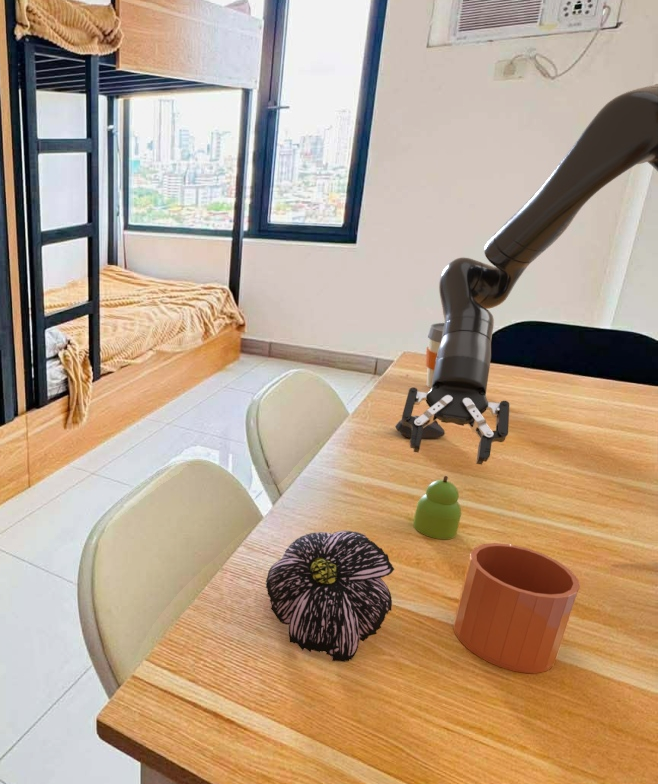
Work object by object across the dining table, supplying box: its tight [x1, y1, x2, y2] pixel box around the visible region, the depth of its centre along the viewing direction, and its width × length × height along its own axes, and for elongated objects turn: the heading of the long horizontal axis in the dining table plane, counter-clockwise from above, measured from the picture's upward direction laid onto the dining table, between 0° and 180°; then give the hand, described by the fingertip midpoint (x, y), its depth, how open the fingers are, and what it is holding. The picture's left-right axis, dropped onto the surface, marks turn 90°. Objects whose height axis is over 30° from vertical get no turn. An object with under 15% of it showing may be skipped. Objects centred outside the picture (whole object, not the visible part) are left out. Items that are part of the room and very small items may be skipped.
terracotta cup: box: [452, 542, 581, 674], centre depth 71 cm, size 10×10×10 cm
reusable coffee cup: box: [425, 322, 444, 389], centre depth 154 cm, size 13×13×15 cm
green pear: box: [412, 475, 462, 540], centre depth 94 cm, size 6×6×9 cm
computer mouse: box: [394, 415, 446, 440], centre depth 128 cm, size 6×9×4 cm, turn 94°
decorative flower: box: [265, 530, 395, 663], centre depth 75 cm, size 14×12×15 cm
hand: (447, 456), depth 96 cm, fingers open, 8 cm apart
